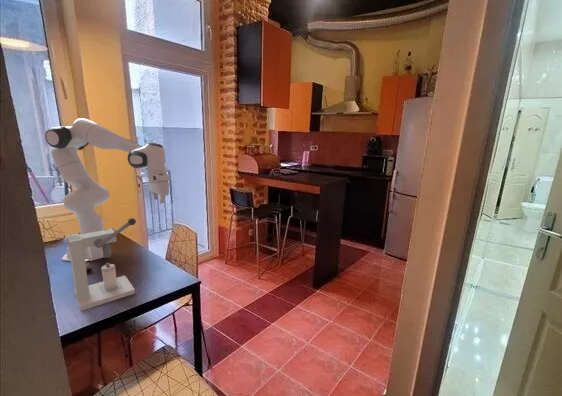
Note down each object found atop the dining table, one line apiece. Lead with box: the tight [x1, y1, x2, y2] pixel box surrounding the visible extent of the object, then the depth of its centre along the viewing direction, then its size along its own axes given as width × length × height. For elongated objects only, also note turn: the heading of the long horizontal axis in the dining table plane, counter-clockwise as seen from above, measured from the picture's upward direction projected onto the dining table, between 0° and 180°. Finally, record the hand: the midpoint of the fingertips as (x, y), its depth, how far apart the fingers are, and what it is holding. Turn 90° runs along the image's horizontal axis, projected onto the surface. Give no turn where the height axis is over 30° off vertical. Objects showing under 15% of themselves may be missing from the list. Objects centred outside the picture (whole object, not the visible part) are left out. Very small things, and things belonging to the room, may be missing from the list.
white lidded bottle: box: [100, 262, 118, 290], centre depth 125 cm, size 5×5×12 cm
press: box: [66, 217, 137, 312], centre depth 123 cm, size 24×16×34 cm
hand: (159, 201), depth 150 cm, fingers open, 8 cm apart
